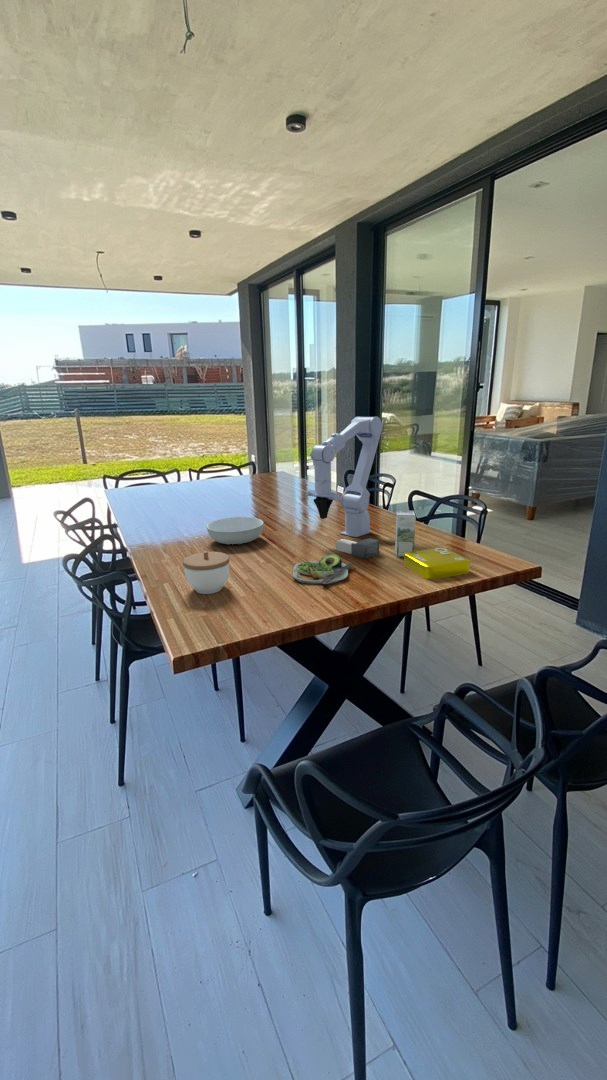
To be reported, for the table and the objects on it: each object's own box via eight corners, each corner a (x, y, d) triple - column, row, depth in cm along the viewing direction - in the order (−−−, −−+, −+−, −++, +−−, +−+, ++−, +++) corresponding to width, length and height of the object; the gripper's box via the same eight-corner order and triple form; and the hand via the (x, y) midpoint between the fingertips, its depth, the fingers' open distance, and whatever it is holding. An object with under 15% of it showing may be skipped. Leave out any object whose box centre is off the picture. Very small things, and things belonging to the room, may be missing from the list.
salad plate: (353, 589, 135) (353, 573, 134) (288, 589, 137) (288, 573, 136) (352, 566, 154) (352, 552, 153) (295, 566, 155) (295, 552, 154)
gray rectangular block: (342, 548, 172) (342, 538, 171) (369, 555, 164) (370, 545, 163) (335, 550, 170) (335, 541, 169) (363, 557, 161) (363, 547, 160)
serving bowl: (202, 538, 188) (200, 521, 186) (253, 531, 196) (252, 514, 195) (216, 553, 170) (214, 534, 168) (272, 544, 178) (271, 526, 176)
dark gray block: (365, 550, 168) (365, 537, 167) (379, 553, 164) (379, 540, 163) (351, 554, 164) (351, 541, 162) (365, 558, 159) (365, 545, 158)
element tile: (401, 565, 153) (401, 550, 152) (442, 559, 158) (443, 545, 157) (427, 581, 140) (427, 565, 138) (472, 574, 144) (473, 559, 143)
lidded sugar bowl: (211, 578, 146) (208, 542, 143) (240, 587, 139) (238, 549, 135) (176, 591, 137) (172, 553, 134) (206, 601, 129) (202, 562, 126)
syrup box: (412, 552, 165) (413, 509, 161) (414, 557, 159) (415, 514, 155) (394, 552, 165) (395, 509, 161) (396, 557, 160) (397, 514, 156)
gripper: (300, 479, 173) (301, 517, 177) (330, 483, 163) (330, 523, 167) (314, 477, 178) (315, 513, 181) (344, 481, 167) (344, 519, 171)
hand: (323, 518), depth 174 cm, fingers closed
